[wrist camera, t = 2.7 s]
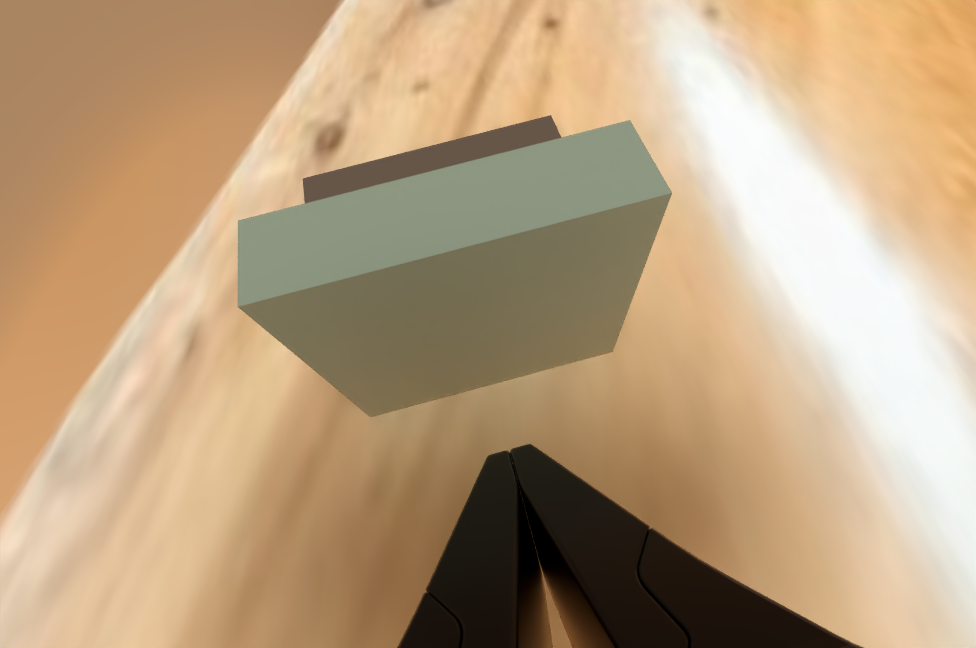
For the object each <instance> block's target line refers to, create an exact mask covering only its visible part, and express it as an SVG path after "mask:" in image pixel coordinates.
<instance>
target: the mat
mask: <svg viewBox="0 0 976 648" xmlns="http://www.w3.org/2000/svg"><path fill="white" fill-rule="evenodd" d="M558 138H561V136H560V134H559V132H558V130H557V127H556V125H555V123H554V121H553V119H552V117H551V115H550V116H546V117H542V118H538V119H534V120H530V121H527V122H523V123H519V124H515V125H511V126H507V127H503V128H499V129H495V130H491V131H487V132H483V133H480V134H476V135H472V136H468V137H464V138H460V139H456V140H452V141H448V142H444V143H440V144H437V145H433V146H429V147H425V148H421V149H417V150H413V151H409V152H405V153H401V154H397V155H393V156H390V157H386V158H382V159H378V160H374V161H370V162H366V163H362V164H358V165H354V166H350V167H346V168H343V169H339V170H335V171H331V172H327V173H323V174H319V175H315V176H311V177H307V178H303V187H304V199H305V203H309V202H313V201H317V200H321V199H325V198H329V197H332V196H336V195H340V194H344V193H348V192H352V191H356V190H360V189H364V188H368V187H371V186H375V185H379V184H383V183H387V182H391V181H395V180H399V179H403V178H406V177H410V176H414V175H418V174H422V173H426V172H430V171H434V170H438V169H442V168H445V167H449V166H453V165H457V164H461V163H465V162H469V161H473V160H477V159H481V158H484V157H488V156H492V155H496V154H500V153H504V152H508V151H512V150H516V149H519V148H523V147H527V146H531V145H535V144H539V143H543V142H547V141H551V140H555V139H558Z"/></svg>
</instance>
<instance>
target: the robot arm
mask: <svg viewBox="0 0 976 648" xmlns="http://www.w3.org/2000/svg"><path fill="white" fill-rule="evenodd" d="M510 454H511V455H510ZM511 458H512V459H511ZM512 462H513V463H512ZM513 465H514V466H513ZM514 469H515V470H514ZM515 473H516V474H515ZM517 480H518V481H517ZM518 484H519V485H518ZM519 488H520V489H519ZM520 491H521V492H520ZM521 495H522V496H521ZM522 499H523V500H522ZM524 506H525V507H524ZM525 510H526V511H525ZM526 514H527V515H526ZM527 517H528V518H527ZM528 521H529V522H528ZM529 525H530V526H529ZM530 529H531V530H530ZM531 532H532V533H531ZM532 536H533V537H532ZM533 540H534V541H533ZM534 543H535V545H534ZM535 547H536V548H535ZM536 551H537V552H536ZM537 555H538V556H537ZM538 558H539V559H538ZM539 562H540V564H539ZM540 565H541V568H542V572H543V575H544V577H545V580H546V583H547V585H548V588H549V590H550V593H551V595H552V598H553V600H554V603H555V605H556V608H557V610H558V613H559V615H560V617H561V620H562V622H563V625H564V627H565V630H566V632H567V635H568V637H569V640H570V642H571V645H572V647H573V648H863V647H861V646H859V645H856V644H854V643H852V642H850V641H848V640H846V639H844V638H842V637H840V636H838V635H836V634H834V633H832V632H831V631H829V630H827V629H825V628H823V627H821V626H820V625H818V624H816V623H814V622H812V621H810V620H808V619H807V618H805V617H803V616H801V615H799V614H797V613H796V612H794V611H792V610H790V609H788V608H786V607H785V606H783V605H781V604H779V603H777V602H775V601H774V600H772V599H770V598H768V597H766V596H764V595H762V594H761V593H759V592H757V591H755V590H753V589H751V588H750V587H748V586H746V585H744V584H742V583H740V582H739V581H737V580H735V579H733V578H731V577H730V576H728V575H726V574H725V573H723V572H721V571H719V570H718V569H716V568H714V567H712V566H711V565H709V564H707V563H705V562H704V561H702V560H700V559H699V558H697V557H695V556H694V555H692V554H691V553H689V552H688V551H686V550H685V549H683V548H682V547H680V546H678V545H677V544H675V543H674V542H672V541H671V540H669V539H668V538H666V537H665V536H663V535H662V534H661V533H659V532H658V531H656V530H655V529H653V528H650V526H649V525H647V524H646V523H644V522H643V521H641V520H640V519H639V518H637V517H636V516H634V515H633V514H631V513H630V512H628V511H627V510H626V509H624V508H623V507H621V506H620V505H618V504H617V503H615V502H614V501H613V500H611V499H610V498H608V497H607V496H605V495H604V494H602V493H601V492H599V491H598V490H597V489H595V488H594V487H592V486H591V485H589V484H588V483H586V482H585V481H584V480H582V479H581V478H579V477H578V476H576V475H575V474H573V473H572V472H571V471H569V470H568V469H566V468H565V467H563V466H562V465H560V464H559V463H557V462H556V461H555V460H553V459H552V458H550V457H549V456H547V455H546V454H544V453H543V452H542V451H540V450H539V449H537V448H536V447H534V446H533V445H531V444H528V445H524V446H520V447H517V448H513V449H512V450H511V452H510V453H509V452H508V451H502V452H499V453H495V454H492V455H489V456H488V457H487V459H486V461H485V463H484V465H483V467H482V469H481V471H480V474H479V476H478V478H477V480H476V482H475V484H474V487H473V489H472V491H471V493H470V495H469V497H468V500H467V502H466V504H465V506H464V508H463V510H462V512H461V515H460V517H459V519H458V521H457V523H456V525H455V528H454V530H453V532H452V534H451V536H450V538H449V541H448V543H447V545H446V547H445V549H444V551H443V553H442V556H441V558H440V560H439V562H438V564H437V566H436V569H435V571H434V573H433V575H432V577H431V579H430V582H429V584H428V586H427V588H426V593H424V594H423V596H422V598H421V600H420V603H419V605H418V607H417V609H416V611H415V613H414V615H413V617H412V619H411V621H410V623H409V625H408V627H407V629H406V631H405V633H404V635H403V637H402V639H401V641H400V643H399V645H398V647H397V648H553V646H552V639H551V632H550V625H549V618H548V611H547V604H546V597H545V590H544V583H543V578H542V572H541V568H540Z"/></svg>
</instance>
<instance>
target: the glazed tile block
mask: <svg viewBox="0 0 976 648" xmlns="http://www.w3.org/2000/svg"><path fill="white" fill-rule="evenodd" d="M671 194H672V192H671V190H670V189H669V187H668V185H667V183H666V182H665V180H664V178H663V177H662V175H661V173H660V171H659V170H658V168H657V166H656V164H655V163H654V161H653V159H652V158H651V156H650V154H649V152H648V151H647V149H646V147H645V145H644V144H643V142H642V140H641V139H640V137H639V135H638V133H637V132H636V130H635V128H634V127H633V125H632V123H631V121H630V120H629V121H625V122H621V123H617V124H613V125H609V126H605V127H601V128H597V129H594V130H590V131H586V132H582V133H578V134H574V135H570V136H566V137H562V138H558V139H555V140H551V141H547V142H543V143H539V144H535V145H531V146H527V147H523V148H519V149H516V150H512V151H508V152H504V153H500V154H496V155H492V156H488V157H484V158H481V159H477V160H473V161H469V162H465V163H461V164H457V165H453V166H449V167H445V168H442V169H438V170H434V171H430V172H426V173H422V174H418V175H414V176H410V177H406V178H403V179H399V180H395V181H391V182H387V183H383V184H379V185H375V186H371V187H368V188H364V189H360V190H356V191H352V192H348V193H344V194H340V195H336V196H332V197H329V198H325V199H321V200H317V201H313V202H309V203H305V204H301V205H297V206H293V207H290V208H286V209H282V210H278V211H274V212H270V213H266V214H262V215H258V216H255V217H251V218H247V219H243V220H239V221H238V307H239V308H240V309H241V310H242V311H243V312H245V313H246V314H247V315H248V316H249V317H251V318H252V319H253V320H254V321H255V322H257V323H258V324H259V325H260V326H262V327H263V328H264V329H265V330H266V331H268V332H269V333H270V334H271V335H272V336H274V337H275V338H276V339H277V340H278V341H280V342H281V343H282V344H283V345H284V346H286V347H287V348H288V349H289V350H290V351H292V352H293V353H294V354H295V355H296V356H298V357H299V358H300V359H301V360H302V361H304V362H305V363H306V364H307V365H308V366H310V367H311V368H312V369H313V370H314V371H316V372H317V373H318V374H319V375H320V376H322V377H323V378H324V379H325V380H326V381H328V382H329V383H330V384H331V385H333V386H334V387H335V388H336V389H337V390H339V391H340V392H341V393H342V394H343V395H345V396H346V397H347V398H348V399H349V400H351V401H352V402H353V403H354V404H355V405H357V406H358V407H359V408H360V409H361V410H363V411H364V412H365V413H366V414H367V415H369V416H370V417H373V416H377V415H380V414H384V413H388V412H392V411H395V410H399V409H403V408H406V407H410V406H414V405H417V404H421V403H425V402H428V401H432V400H436V399H439V398H443V397H447V396H451V395H454V394H458V393H462V392H465V391H469V390H473V389H476V388H480V387H484V386H487V385H491V384H495V383H499V382H502V381H506V380H510V379H513V378H517V377H521V376H524V375H528V374H532V373H535V372H539V371H543V370H547V369H550V368H554V367H558V366H561V365H565V364H569V363H572V362H576V361H580V360H583V359H587V358H591V357H595V356H598V355H602V354H606V353H609V352H613V349H614V347H615V344H616V341H617V339H618V336H619V333H620V331H621V328H622V325H623V323H624V320H625V317H626V315H627V312H628V309H629V307H630V304H631V301H632V299H633V296H634V293H635V291H636V288H637V285H638V283H639V280H640V277H641V275H642V272H643V269H644V267H645V264H646V261H647V258H648V256H649V253H650V250H651V248H652V245H653V242H654V240H655V237H656V234H657V232H658V229H659V226H660V224H661V221H662V218H663V216H664V213H665V210H666V208H667V205H668V202H669V200H670V197H671Z"/></svg>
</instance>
